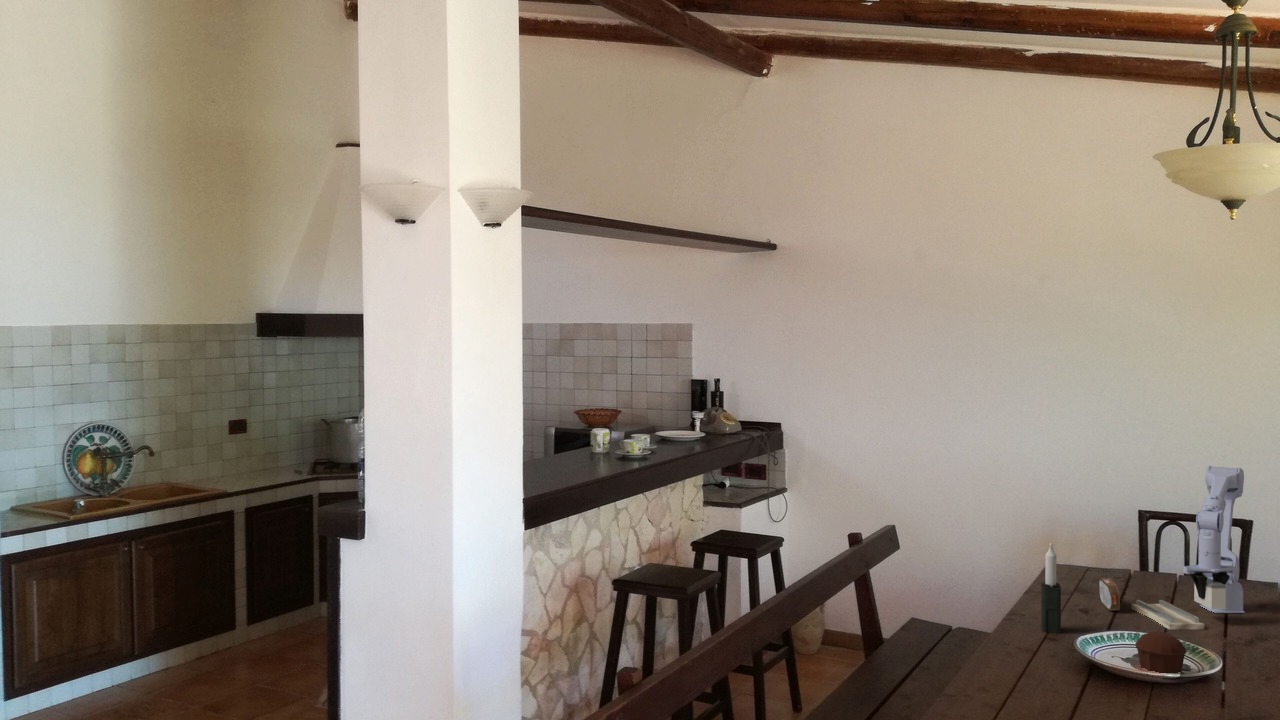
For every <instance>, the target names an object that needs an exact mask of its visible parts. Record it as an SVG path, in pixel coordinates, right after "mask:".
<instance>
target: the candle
mask: <svg viewBox="0 0 1280 720" xmlns="http://www.w3.org/2000/svg"><path fill="white" fill-rule="evenodd" d="M1044 558H1045V560H1044V561H1045V566H1044V568H1045V572H1044V573H1045V575H1044V577H1045V579H1044V580H1045V581H1042V583H1041V584H1040V629H1041V632H1043V633H1051V634H1061V632H1062V627H1061V626H1062V623H1061V621H1062V618H1061V617H1062V611H1061V610H1062V609H1061V607H1062V587H1061V585H1060V583H1058V582H1057V554H1056V552H1055V551H1054V548H1053V543H1052V542H1050V543H1049V547H1048V551H1047V552H1046V553H1045V557H1044Z"/></svg>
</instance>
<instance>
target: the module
mask: <svg viewBox="0 0 1280 720" xmlns="http://www.w3.org/2000/svg"><path fill="white" fill-rule="evenodd" d="M1193 585H1194V587H1193V588H1194V591H1193V592H1194V596H1193V597H1194V599H1193V600H1194V602H1196V603H1197V604H1199V605H1204V606H1206V607H1208V608H1210V609H1225V596H1226V585H1224V584H1222V583H1220V582H1217V581H1215V580H1213V579H1210V578H1207V581H1206V587H1205V599H1202V598H1200V597H1199V596H1198V592H1197V588H1196V585H1195V583H1194V582H1193Z"/></svg>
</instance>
